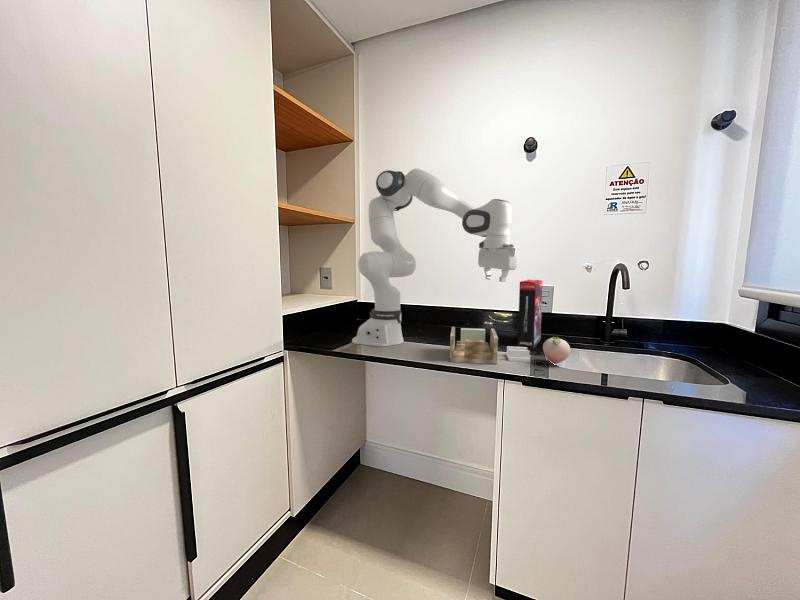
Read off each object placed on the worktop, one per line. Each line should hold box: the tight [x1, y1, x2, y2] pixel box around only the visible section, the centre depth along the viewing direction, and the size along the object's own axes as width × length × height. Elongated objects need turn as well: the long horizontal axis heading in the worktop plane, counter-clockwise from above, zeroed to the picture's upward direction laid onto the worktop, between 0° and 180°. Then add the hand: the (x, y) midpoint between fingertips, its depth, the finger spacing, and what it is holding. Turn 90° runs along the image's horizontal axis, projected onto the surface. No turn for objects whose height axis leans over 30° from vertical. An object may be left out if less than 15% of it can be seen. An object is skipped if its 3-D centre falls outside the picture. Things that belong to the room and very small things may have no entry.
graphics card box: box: [517, 279, 543, 349], centre depth 139 cm, size 17×7×27 cm, turn 149°
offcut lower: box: [464, 348, 482, 359], centre depth 116 cm, size 6×4×3 cm, turn 79°
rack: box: [449, 326, 499, 365], centre depth 121 cm, size 16×16×9 cm
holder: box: [505, 345, 531, 363], centre depth 119 cm, size 7×8×4 cm
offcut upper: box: [465, 339, 484, 351], centre depth 116 cm, size 6×4×3 cm, turn 85°
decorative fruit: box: [542, 335, 571, 365], centre depth 113 cm, size 9×8×10 cm
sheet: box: [460, 327, 486, 345], centre depth 126 cm, size 9×2×8 cm, turn 82°
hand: (495, 280), depth 126 cm, fingers open, 8 cm apart
